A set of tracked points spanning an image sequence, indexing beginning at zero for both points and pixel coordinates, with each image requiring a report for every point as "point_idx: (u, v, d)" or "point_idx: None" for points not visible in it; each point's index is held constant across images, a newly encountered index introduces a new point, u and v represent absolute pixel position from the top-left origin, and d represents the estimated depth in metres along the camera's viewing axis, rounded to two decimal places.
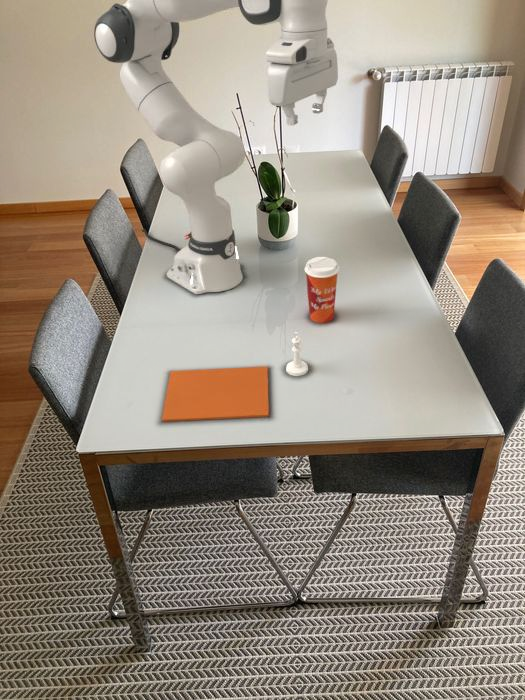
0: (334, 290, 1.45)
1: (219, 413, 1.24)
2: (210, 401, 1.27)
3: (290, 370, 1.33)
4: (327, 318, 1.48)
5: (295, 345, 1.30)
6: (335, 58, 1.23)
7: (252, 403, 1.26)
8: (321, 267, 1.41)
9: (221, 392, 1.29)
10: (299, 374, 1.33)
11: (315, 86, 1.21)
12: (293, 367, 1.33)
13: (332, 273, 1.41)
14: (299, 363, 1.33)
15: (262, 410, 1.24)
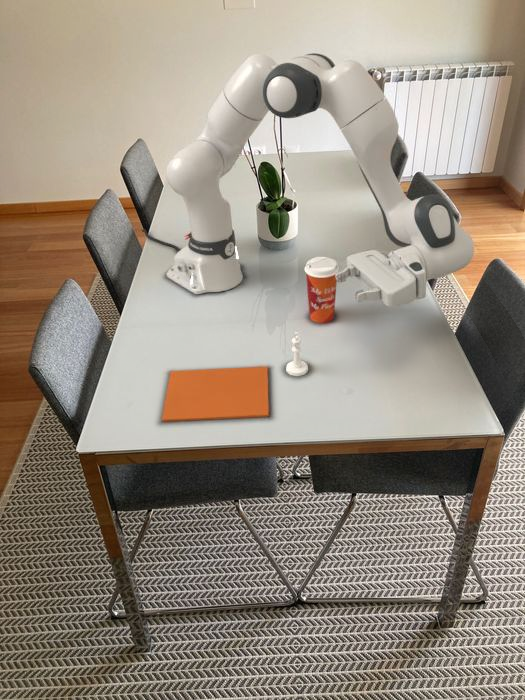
0: (334, 290, 1.45)
1: (219, 413, 1.24)
2: (210, 401, 1.27)
3: (290, 370, 1.33)
4: (327, 318, 1.48)
5: (295, 345, 1.30)
6: None
7: (252, 403, 1.26)
8: (321, 267, 1.41)
9: (221, 392, 1.29)
10: (299, 374, 1.33)
11: None
12: (293, 367, 1.33)
13: (332, 273, 1.41)
14: (299, 363, 1.33)
15: (262, 410, 1.24)
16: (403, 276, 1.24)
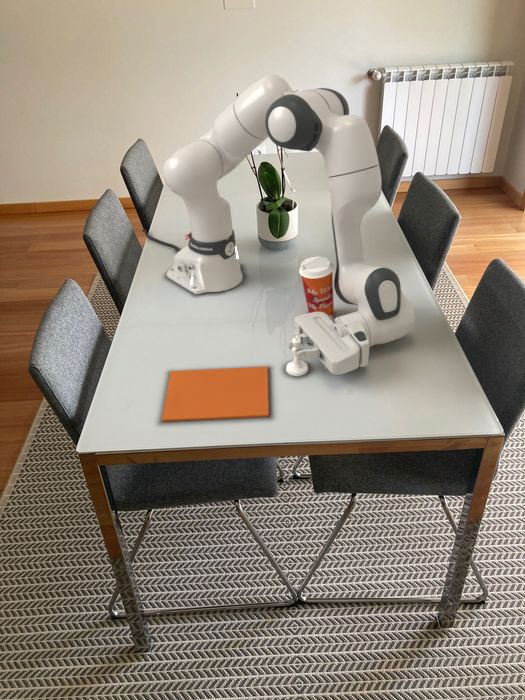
0: (330, 289, 1.44)
1: (219, 413, 1.24)
2: (210, 401, 1.27)
3: (290, 370, 1.33)
4: None
5: (295, 345, 1.30)
6: None
7: (252, 403, 1.26)
8: (315, 268, 1.41)
9: (221, 392, 1.29)
10: (299, 374, 1.33)
11: None
12: (293, 367, 1.33)
13: (326, 273, 1.40)
14: (299, 363, 1.33)
15: (262, 410, 1.24)
16: (347, 344, 1.29)
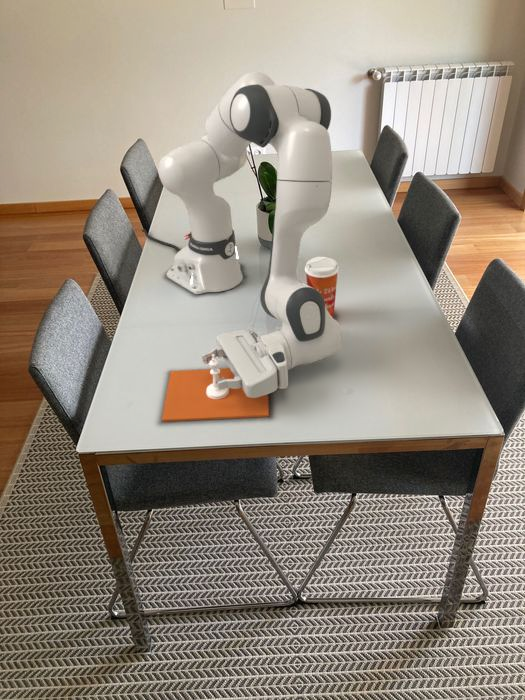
0: (334, 290, 1.45)
1: (219, 413, 1.24)
2: (210, 401, 1.27)
3: (209, 393, 1.28)
4: None
5: (212, 367, 1.24)
6: None
7: (252, 403, 1.26)
8: (321, 267, 1.41)
9: None
10: (218, 397, 1.27)
11: None
12: (213, 390, 1.28)
13: (332, 273, 1.41)
14: None
15: (262, 410, 1.24)
16: (265, 365, 1.23)
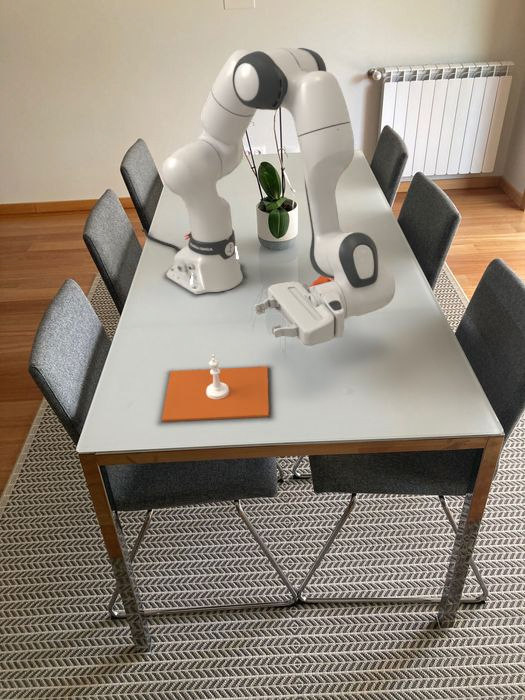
0: None
1: (219, 413, 1.24)
2: (210, 401, 1.27)
3: (209, 393, 1.28)
4: (317, 283, 1.52)
5: (212, 367, 1.24)
6: None
7: (252, 403, 1.26)
8: None
9: None
10: (218, 397, 1.27)
11: None
12: (213, 390, 1.28)
13: None
14: (219, 386, 1.27)
15: (262, 410, 1.24)
16: (321, 314, 1.22)
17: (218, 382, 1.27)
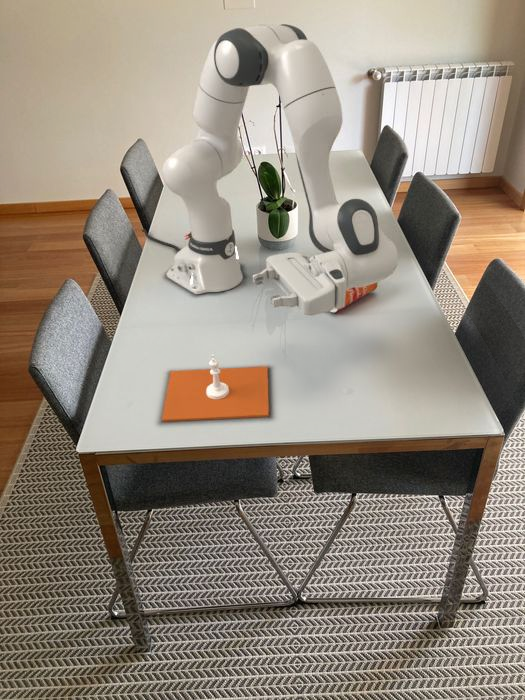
0: (362, 294, 1.53)
1: (219, 413, 1.24)
2: (210, 401, 1.27)
3: (209, 393, 1.28)
4: None
5: (212, 367, 1.24)
6: None
7: (252, 403, 1.26)
8: None
9: None
10: (218, 397, 1.27)
11: None
12: (213, 390, 1.28)
13: None
14: (219, 386, 1.27)
15: (262, 410, 1.24)
16: (322, 283, 1.17)
17: (218, 382, 1.27)
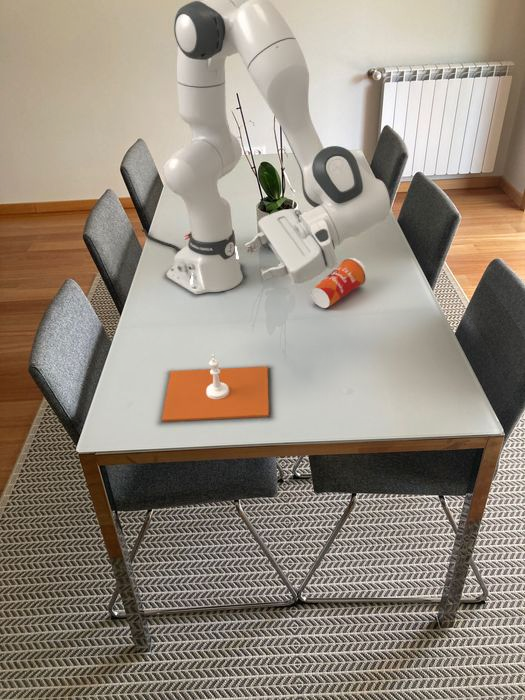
0: (349, 278, 1.54)
1: (219, 413, 1.24)
2: (210, 401, 1.27)
3: (209, 393, 1.28)
4: (326, 288, 1.51)
5: (212, 367, 1.24)
6: None
7: (252, 403, 1.26)
8: None
9: None
10: (218, 397, 1.27)
11: None
12: (213, 390, 1.28)
13: (359, 264, 1.56)
14: (219, 386, 1.27)
15: (262, 410, 1.24)
16: (309, 246, 1.15)
17: (218, 382, 1.27)
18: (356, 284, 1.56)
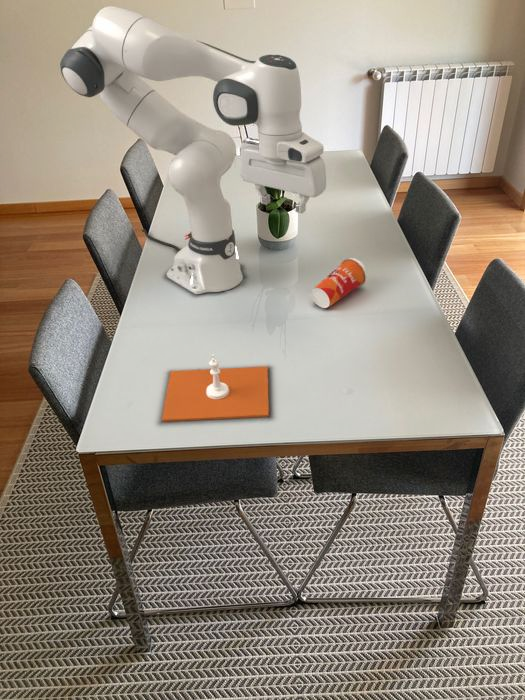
0: (349, 278, 1.54)
1: (219, 413, 1.24)
2: (210, 401, 1.27)
3: (209, 393, 1.28)
4: (326, 288, 1.51)
5: (212, 367, 1.24)
6: None
7: (252, 403, 1.26)
8: None
9: None
10: (218, 397, 1.27)
11: None
12: (213, 390, 1.28)
13: (360, 264, 1.56)
14: (219, 386, 1.27)
15: (262, 410, 1.24)
16: (297, 167, 1.20)
17: (218, 382, 1.27)
18: (356, 284, 1.56)
